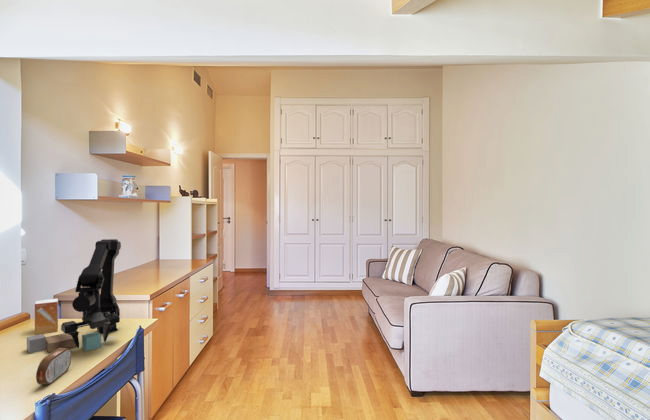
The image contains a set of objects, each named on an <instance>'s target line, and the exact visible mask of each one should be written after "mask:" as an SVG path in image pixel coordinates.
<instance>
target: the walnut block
mask: <svg viewBox="0 0 650 420" xmlns="http://www.w3.org/2000/svg"><path fill="white" fill-rule="evenodd" d="M45 337H46V350H45V351H47V354H48V355H49V354H51V353H52V352H54V351H55V350H57V349H58V348H68V349H70V350H72V349H75V348H77V347H76V344H75V342H74V340H73V338H72V336H71V335H69V334H68V333H64V332H63V333H60V334H55V335H49V336H45Z"/></svg>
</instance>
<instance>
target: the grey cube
mask: <svg viewBox="0 0 650 420" xmlns="http://www.w3.org/2000/svg"><path fill="white" fill-rule="evenodd" d="M46 337H47V336H45V334H44V333H41V334H34V335H31V336H26V351H27V353H29V354H31V355H32V354H35V353H39V352H43V351H47V350H46Z"/></svg>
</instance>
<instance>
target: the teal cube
mask: <svg viewBox="0 0 650 420" xmlns="http://www.w3.org/2000/svg"><path fill="white" fill-rule="evenodd" d="M81 341H82V342H81V345H82V346H81V347H82V349H83V350H84V351H86V352H89V351H92V350H96V349H100V348H102V334H101V333H100V332H98V331H94V332H89V333H85V334H82V335H81Z"/></svg>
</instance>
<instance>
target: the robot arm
mask: <svg viewBox="0 0 650 420" xmlns="http://www.w3.org/2000/svg"><path fill="white" fill-rule="evenodd" d="M121 247H122V245H121V241H119V240H118V239H117V238H115V239H114V238H113V239H111V238H110V239H109V238H108V239H107V238H105V239H101V240H98V241H96V242H95V248H94V251H93V253H92V256H91V259H90V261H89V264H88V265H87V266H85V268H83V270H82V271H81V273H80V274H79V276H78V279H77V282H76V287H75V293H78V296H77V297H75V298H74V299H73V301H72V303H71V305H72V309H74V310H75V311H76V312H78V313H82V317H81V320H82V321H78V322H76V321H74V320H70V321H66V322H65V321H64V322H62V324H61V326H60V330H61V332H63V334H64V333H68V334H69V335H71V336H72V338H73V340H74V342H75V344H76V348H77V349H79V348H80V340H79V333H80V331H78V329H79V328H84V327H88V326H89V328H90V329H92V330H93V329H94V330H95V329H96V332H98V333H99V334H101V335H102V336H103V337H102V339H103V343H106V342H107V339H108V337H109V333H111V332H116V331H119V328H118V327H117V324H118V323H120V322H121V321H120V320H121V319H120V318H121V317H120V316H121V311H120V310H121V309H120V307H119V304H118V302H117V298H116V296H115V295H114V275H115V260H116V258H117V257H118V256H119V254H120V251H121Z"/></svg>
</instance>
